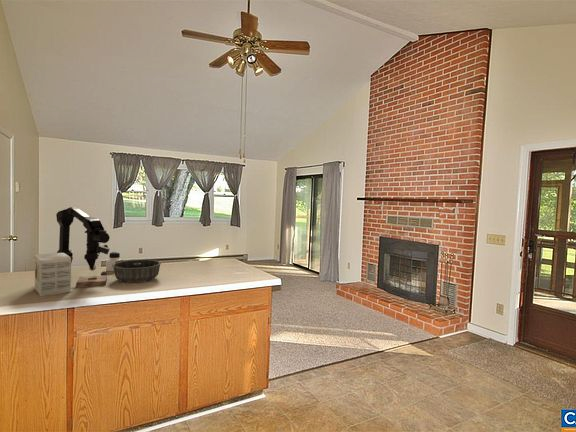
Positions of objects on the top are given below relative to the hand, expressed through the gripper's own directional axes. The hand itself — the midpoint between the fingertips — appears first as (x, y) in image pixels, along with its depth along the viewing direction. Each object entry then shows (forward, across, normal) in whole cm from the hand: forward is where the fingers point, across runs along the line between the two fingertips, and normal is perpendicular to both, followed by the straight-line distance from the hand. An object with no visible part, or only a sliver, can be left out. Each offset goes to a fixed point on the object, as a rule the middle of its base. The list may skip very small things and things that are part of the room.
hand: (92, 268), depth 190 cm
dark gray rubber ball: (+6, +14, -5) cm, 16 cm away
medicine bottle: (+8, +32, -10) cm, 34 cm away
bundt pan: (+8, +2, -23) cm, 25 cm away
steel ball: (-1, 0, 0) cm, 1 cm away
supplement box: (+8, -10, +17) cm, 21 cm away
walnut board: (+8, 0, 0) cm, 8 cm away
